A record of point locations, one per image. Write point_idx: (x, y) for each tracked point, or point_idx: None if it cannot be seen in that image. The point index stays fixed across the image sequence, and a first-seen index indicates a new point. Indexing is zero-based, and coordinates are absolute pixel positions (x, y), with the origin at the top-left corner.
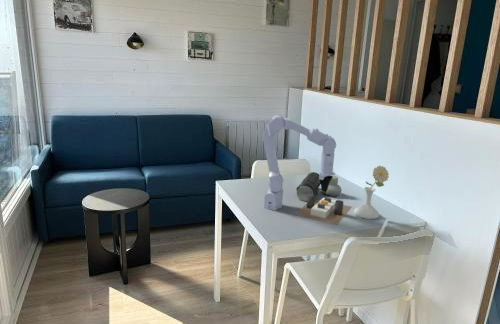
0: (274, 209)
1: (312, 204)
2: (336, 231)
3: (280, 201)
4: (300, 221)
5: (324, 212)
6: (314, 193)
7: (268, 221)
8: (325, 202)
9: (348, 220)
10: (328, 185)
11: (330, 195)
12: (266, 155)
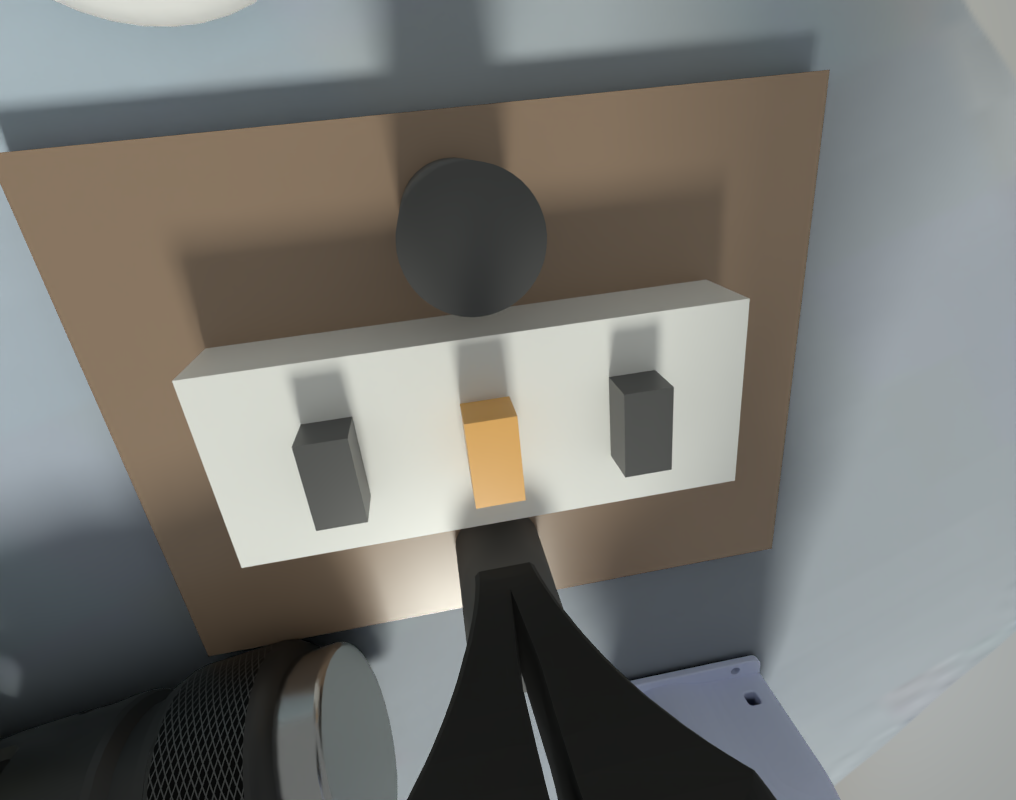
0: (766, 689)
1: (532, 544)
2: (928, 26)
3: (719, 745)
4: (836, 441)
5: (744, 314)
6: (266, 693)
7: (940, 598)
8: (516, 437)
9: (509, 16)
10: (484, 651)
11: None
12: None
